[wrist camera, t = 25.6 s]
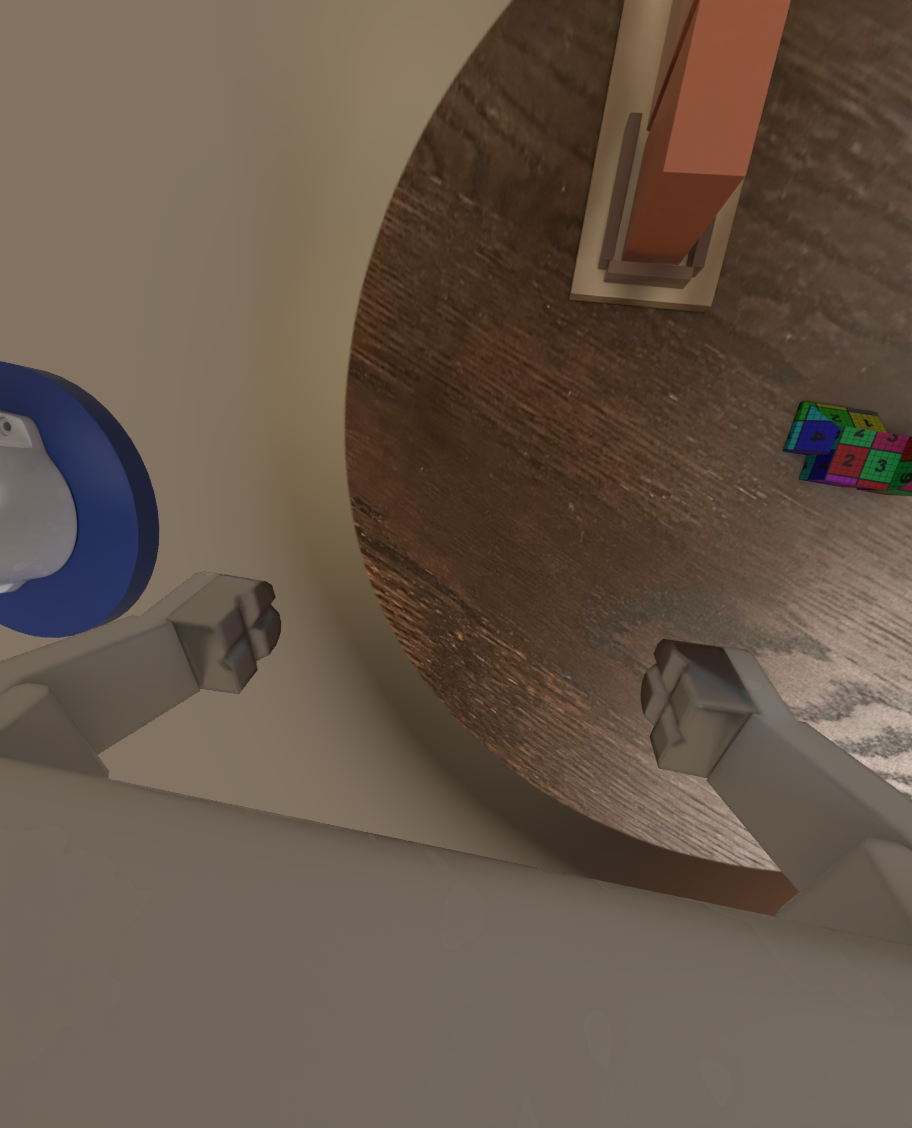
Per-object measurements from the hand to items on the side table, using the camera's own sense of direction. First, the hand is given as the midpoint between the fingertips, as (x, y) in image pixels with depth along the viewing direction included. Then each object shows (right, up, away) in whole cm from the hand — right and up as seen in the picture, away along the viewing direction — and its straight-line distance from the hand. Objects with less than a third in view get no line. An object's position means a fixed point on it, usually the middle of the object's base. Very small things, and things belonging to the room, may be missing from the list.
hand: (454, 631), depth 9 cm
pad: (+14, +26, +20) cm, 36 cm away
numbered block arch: (+29, +10, +22) cm, 38 cm away
